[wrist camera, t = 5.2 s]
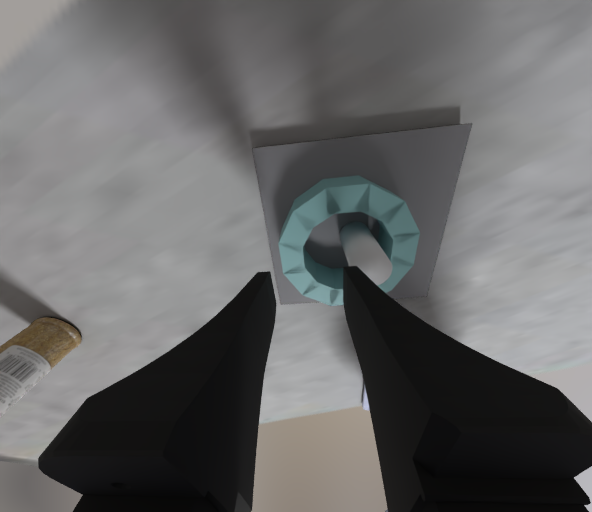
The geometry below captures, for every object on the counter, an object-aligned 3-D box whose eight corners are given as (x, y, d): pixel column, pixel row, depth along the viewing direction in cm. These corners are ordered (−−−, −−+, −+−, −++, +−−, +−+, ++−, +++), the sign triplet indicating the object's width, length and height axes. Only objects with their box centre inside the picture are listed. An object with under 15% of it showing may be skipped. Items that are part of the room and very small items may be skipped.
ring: (409, 169, 13) (431, 177, 10) (393, 279, 16) (406, 301, 14) (275, 183, 13) (269, 193, 11) (290, 286, 17) (288, 308, 15)
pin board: (460, 124, 12) (561, 117, 7) (420, 288, 18) (462, 344, 13) (255, 147, 13) (227, 154, 8) (281, 296, 19) (273, 351, 14)
